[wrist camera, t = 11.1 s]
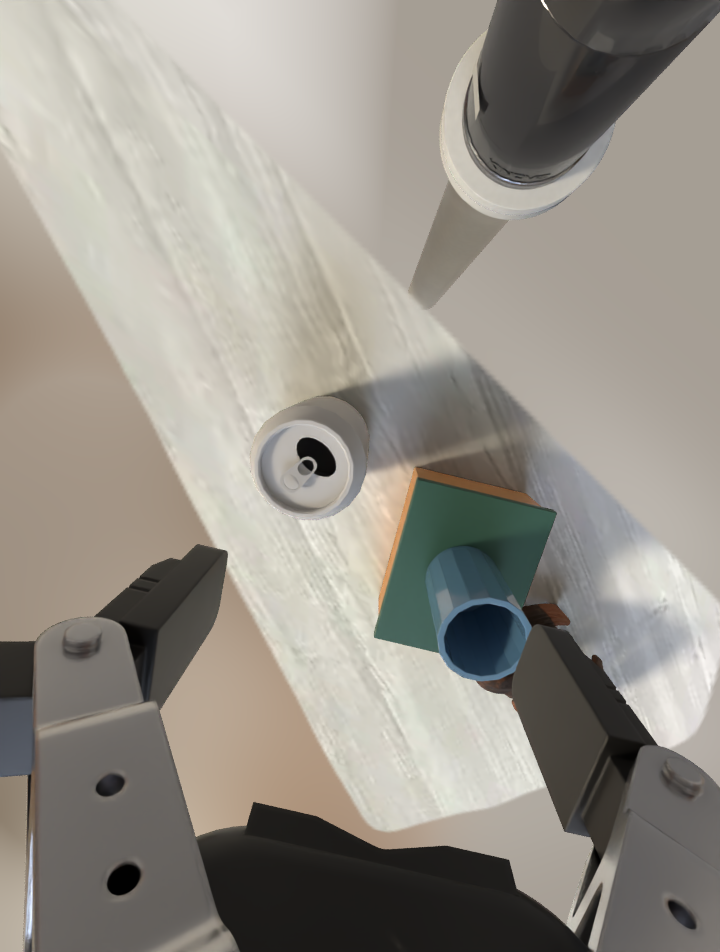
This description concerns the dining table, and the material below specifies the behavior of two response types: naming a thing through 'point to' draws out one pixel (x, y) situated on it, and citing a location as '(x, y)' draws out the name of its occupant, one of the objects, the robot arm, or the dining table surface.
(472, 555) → the cup
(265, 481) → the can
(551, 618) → the brown jagged ring
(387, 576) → the container
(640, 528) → the dining table surface
